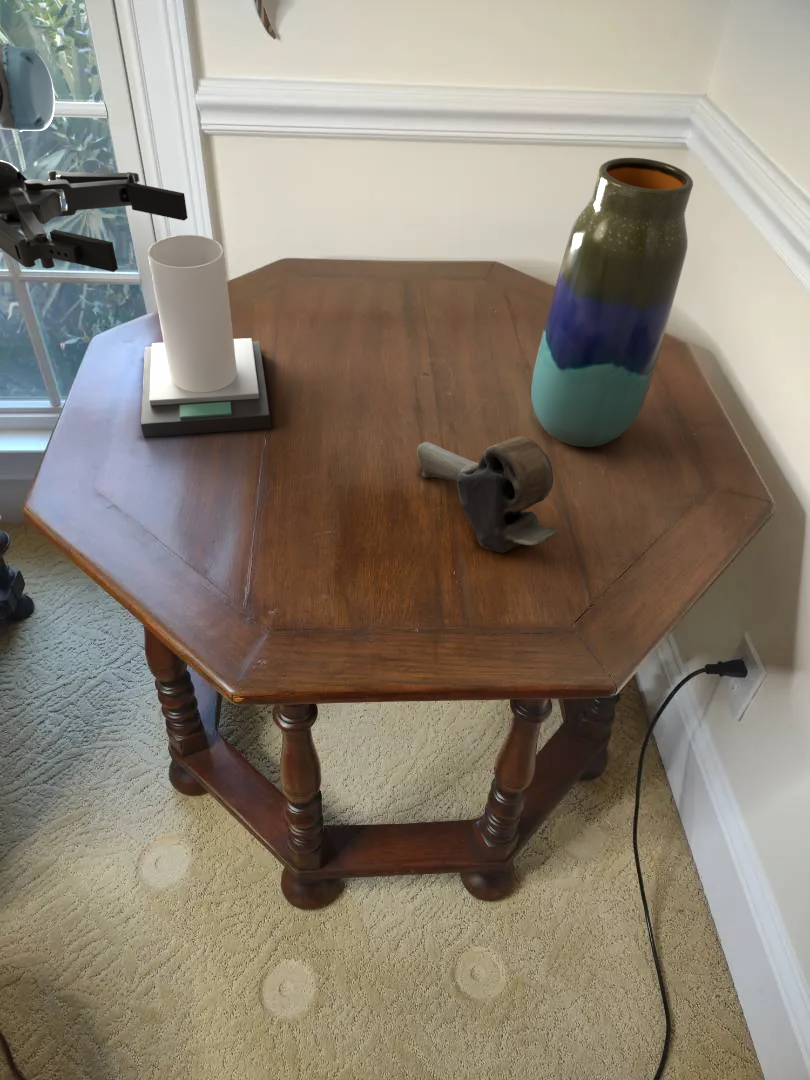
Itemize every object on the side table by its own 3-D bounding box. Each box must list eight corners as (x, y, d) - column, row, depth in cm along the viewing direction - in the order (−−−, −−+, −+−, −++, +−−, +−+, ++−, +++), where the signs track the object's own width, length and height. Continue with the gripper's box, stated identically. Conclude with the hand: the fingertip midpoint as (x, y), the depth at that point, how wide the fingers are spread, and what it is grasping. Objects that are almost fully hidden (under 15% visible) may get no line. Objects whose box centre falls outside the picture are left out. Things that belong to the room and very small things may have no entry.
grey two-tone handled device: (402, 471, 90) (407, 388, 82) (442, 454, 93) (450, 371, 84) (519, 582, 79) (538, 498, 70) (560, 559, 81) (584, 475, 73)
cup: (250, 375, 97) (238, 253, 86) (196, 400, 92) (176, 275, 81) (210, 348, 101) (194, 228, 89) (156, 372, 96) (132, 248, 85)
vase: (539, 464, 92) (603, 201, 70) (511, 397, 102) (559, 147, 80) (647, 459, 94) (742, 201, 72) (610, 394, 104) (683, 149, 82)
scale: (143, 437, 91) (139, 418, 89) (147, 359, 103) (143, 341, 101) (270, 428, 94) (269, 409, 92) (260, 353, 106) (259, 335, 104)
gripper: (57, 189, 94) (213, 221, 91) (-97, 274, 77) (87, 318, 74) (41, 123, 89) (205, 154, 85) (-129, 198, 72) (67, 242, 68)
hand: (151, 230), depth 79 cm, fingers open, 13 cm apart
